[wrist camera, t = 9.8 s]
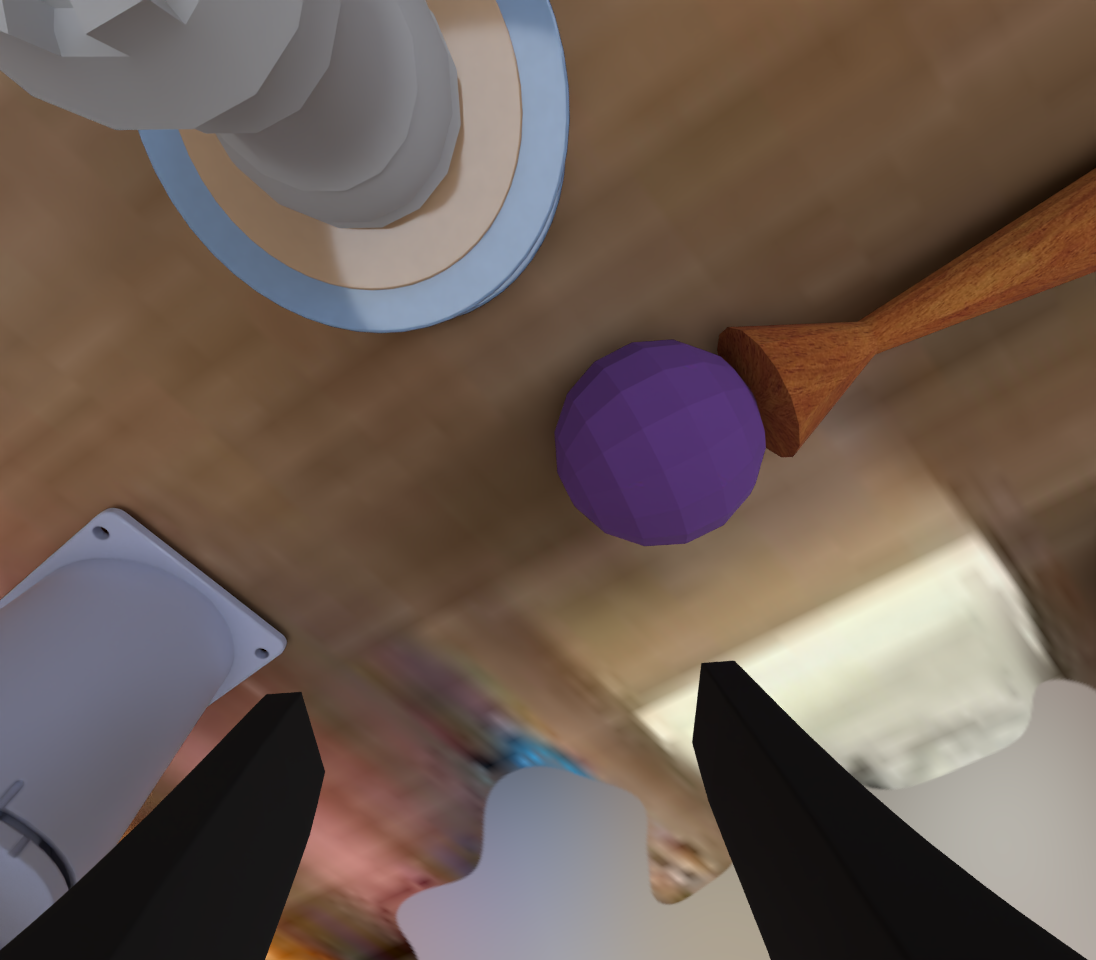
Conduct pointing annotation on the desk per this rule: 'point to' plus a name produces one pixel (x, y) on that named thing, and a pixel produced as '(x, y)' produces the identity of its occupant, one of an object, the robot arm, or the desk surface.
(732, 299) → the desk surface
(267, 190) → the rook chess piece
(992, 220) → the desk surface
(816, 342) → the kendama
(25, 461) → the desk surface
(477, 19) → the short blue cylinder
